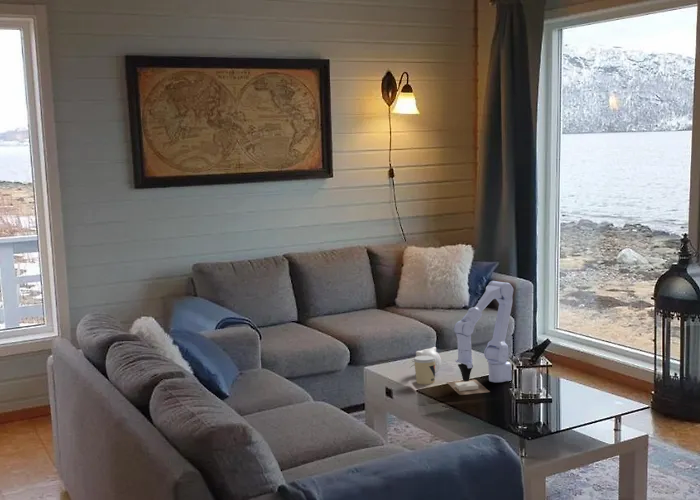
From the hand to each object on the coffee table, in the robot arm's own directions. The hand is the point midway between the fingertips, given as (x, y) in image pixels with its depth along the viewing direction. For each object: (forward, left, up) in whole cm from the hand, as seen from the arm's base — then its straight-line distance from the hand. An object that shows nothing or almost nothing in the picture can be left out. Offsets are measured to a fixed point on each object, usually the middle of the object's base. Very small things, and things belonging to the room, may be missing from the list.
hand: (466, 380), depth 333 cm
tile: (0, -3, -2) cm, 4 cm away
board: (-1, -1, -4) cm, 4 cm away
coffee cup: (+14, -15, -4) cm, 21 cm away
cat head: (+9, -29, -4) cm, 31 cm away
